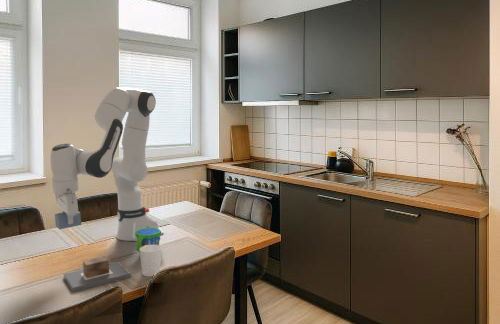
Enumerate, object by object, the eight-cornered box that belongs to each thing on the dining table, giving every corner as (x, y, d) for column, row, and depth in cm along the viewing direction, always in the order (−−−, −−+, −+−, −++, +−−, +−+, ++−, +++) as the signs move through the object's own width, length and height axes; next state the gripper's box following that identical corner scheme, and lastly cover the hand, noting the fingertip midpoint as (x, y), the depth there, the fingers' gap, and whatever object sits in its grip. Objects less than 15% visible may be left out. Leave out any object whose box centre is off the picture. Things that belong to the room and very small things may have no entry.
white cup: (163, 268, 157) (162, 244, 155) (159, 277, 149) (158, 251, 148) (143, 268, 157) (142, 244, 155) (138, 277, 149) (137, 252, 147)
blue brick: (77, 222, 158) (76, 210, 157) (81, 224, 155) (80, 212, 154) (55, 226, 153) (54, 214, 152) (59, 229, 149) (58, 216, 149)
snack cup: (150, 246, 181) (149, 224, 180) (169, 249, 177) (169, 227, 176) (127, 258, 167) (126, 235, 166) (147, 262, 163) (146, 238, 161)
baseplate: (117, 264, 160) (117, 261, 160) (129, 277, 149) (129, 273, 149) (64, 277, 148) (63, 273, 148) (73, 291, 137) (72, 287, 137)
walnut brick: (105, 268, 153) (104, 256, 152) (109, 272, 149) (108, 260, 148) (83, 273, 148) (82, 261, 147) (87, 278, 144) (86, 265, 144)
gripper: (81, 190, 145) (84, 226, 147) (68, 181, 161) (71, 214, 163) (62, 193, 141) (65, 230, 143) (51, 183, 158) (54, 216, 160)
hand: (68, 221), depth 154 cm, fingers closed on blue brick, 5 cm apart
